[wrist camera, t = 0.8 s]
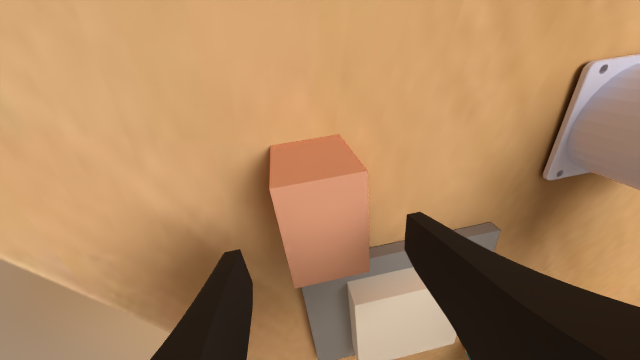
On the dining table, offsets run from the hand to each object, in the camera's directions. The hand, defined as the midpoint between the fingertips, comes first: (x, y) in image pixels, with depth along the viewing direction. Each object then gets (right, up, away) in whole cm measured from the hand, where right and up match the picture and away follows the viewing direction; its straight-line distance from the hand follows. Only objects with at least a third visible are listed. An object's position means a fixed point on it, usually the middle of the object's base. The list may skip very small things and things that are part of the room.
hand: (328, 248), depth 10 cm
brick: (-1, +3, +5) cm, 6 cm away
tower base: (+6, -8, +12) cm, 15 cm away
